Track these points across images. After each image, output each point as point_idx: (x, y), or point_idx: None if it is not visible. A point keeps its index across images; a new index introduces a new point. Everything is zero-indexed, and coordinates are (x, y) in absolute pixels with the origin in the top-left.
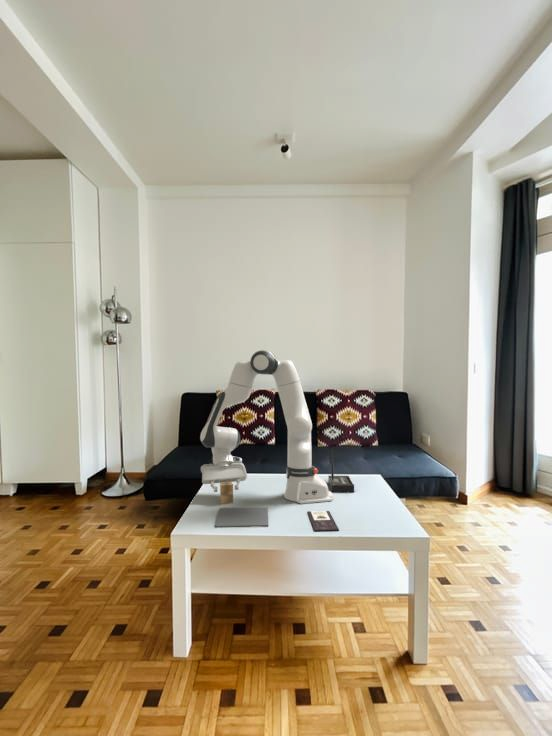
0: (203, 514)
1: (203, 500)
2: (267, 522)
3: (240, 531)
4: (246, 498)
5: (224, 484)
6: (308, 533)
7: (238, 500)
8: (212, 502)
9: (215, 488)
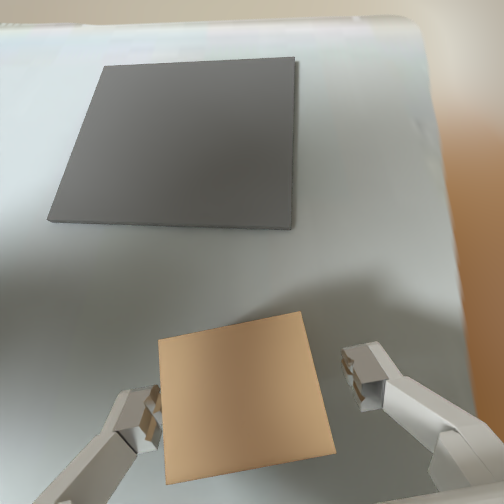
0: (369, 171)
1: None
2: (101, 82)
3: (204, 41)
4: None
5: (267, 359)
6: (15, 38)
7: None
8: None
9: (372, 357)
